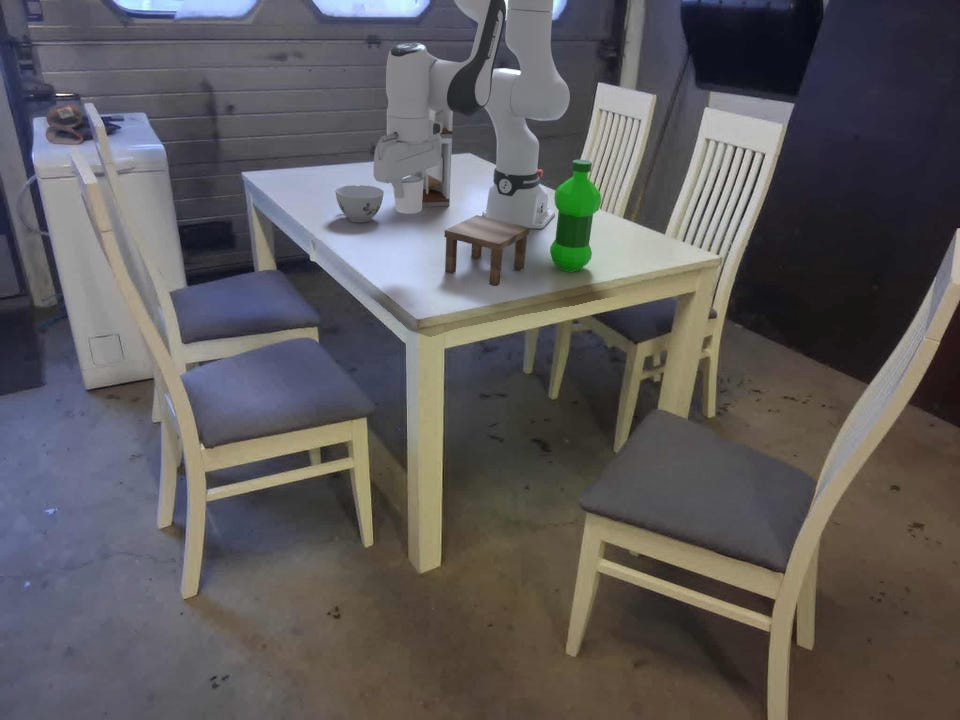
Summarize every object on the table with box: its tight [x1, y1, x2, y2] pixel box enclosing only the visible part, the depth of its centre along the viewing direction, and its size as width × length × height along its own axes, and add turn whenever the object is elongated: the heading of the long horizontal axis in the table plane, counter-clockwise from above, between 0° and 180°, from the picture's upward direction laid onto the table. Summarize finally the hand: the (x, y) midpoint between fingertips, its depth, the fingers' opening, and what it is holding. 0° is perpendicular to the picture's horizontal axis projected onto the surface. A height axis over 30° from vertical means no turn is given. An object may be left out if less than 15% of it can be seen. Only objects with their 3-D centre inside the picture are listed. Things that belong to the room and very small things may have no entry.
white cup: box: [392, 175, 424, 215], centre depth 155 cm, size 7×7×7 cm
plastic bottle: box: [549, 159, 602, 273], centre depth 163 cm, size 10×10×25 cm
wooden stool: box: [444, 214, 530, 287], centre depth 162 cm, size 14×14×10 cm
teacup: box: [335, 184, 385, 223], centre depth 190 cm, size 15×12×8 cm
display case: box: [412, 106, 454, 208], centre depth 201 cm, size 11×11×35 cm
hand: (408, 193), depth 155 cm, fingers closed on white cup, 5 cm apart
